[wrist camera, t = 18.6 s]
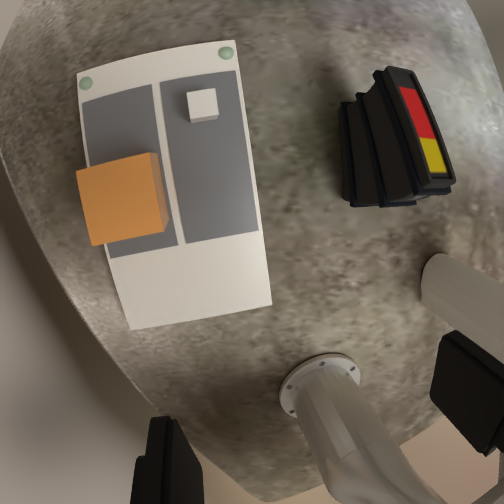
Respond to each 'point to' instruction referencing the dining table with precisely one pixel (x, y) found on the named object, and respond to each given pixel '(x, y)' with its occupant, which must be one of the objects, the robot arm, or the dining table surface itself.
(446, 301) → the paper towel roll
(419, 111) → the magazine
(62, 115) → the dining table surface
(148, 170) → the cap
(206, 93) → the lever
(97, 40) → the dining table surface
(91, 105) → the board
